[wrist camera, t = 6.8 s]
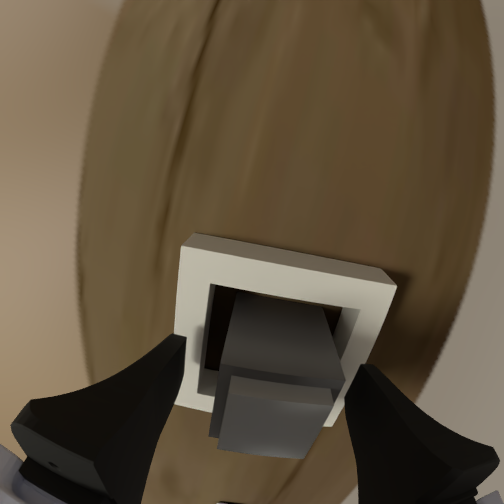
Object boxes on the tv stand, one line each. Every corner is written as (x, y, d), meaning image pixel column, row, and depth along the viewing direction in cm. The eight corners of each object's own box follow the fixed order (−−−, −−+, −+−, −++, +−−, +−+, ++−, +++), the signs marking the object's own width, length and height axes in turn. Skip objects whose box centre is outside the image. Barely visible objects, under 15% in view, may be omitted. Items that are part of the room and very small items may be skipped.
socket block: (326, 401, 15) (331, 426, 13) (180, 379, 15) (171, 403, 13) (380, 268, 13) (397, 285, 11) (194, 232, 13) (181, 245, 11)
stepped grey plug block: (300, 370, 15) (310, 464, 9) (225, 359, 15) (205, 451, 9) (322, 306, 13) (350, 397, 8) (237, 291, 13) (216, 380, 8)
